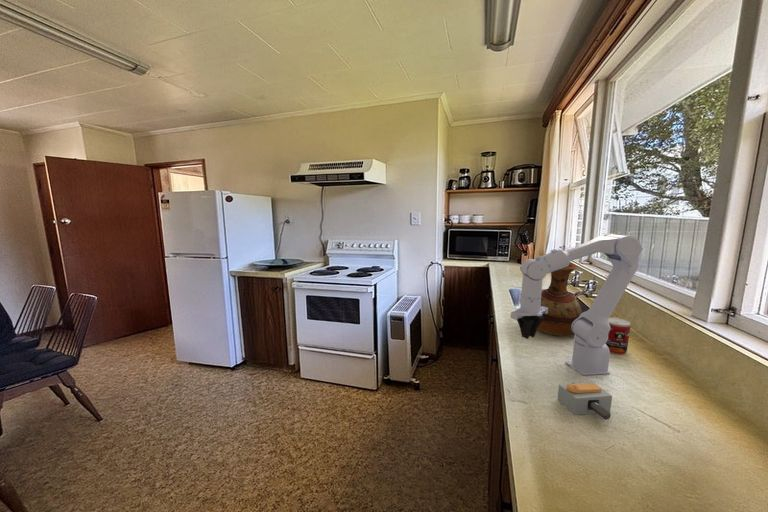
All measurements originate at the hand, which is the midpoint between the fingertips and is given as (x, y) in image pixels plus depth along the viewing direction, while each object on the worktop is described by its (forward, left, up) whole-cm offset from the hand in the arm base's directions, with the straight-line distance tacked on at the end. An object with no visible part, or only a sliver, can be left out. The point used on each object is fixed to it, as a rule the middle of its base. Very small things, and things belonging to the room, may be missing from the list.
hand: (527, 336), depth 96 cm
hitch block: (-3, +21, -10) cm, 23 cm away
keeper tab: (-2, +21, -5) cm, 22 cm away
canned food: (-39, -7, -10) cm, 41 cm away
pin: (-3, +23, -9) cm, 24 cm away
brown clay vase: (-29, -26, -10) cm, 40 cm away
